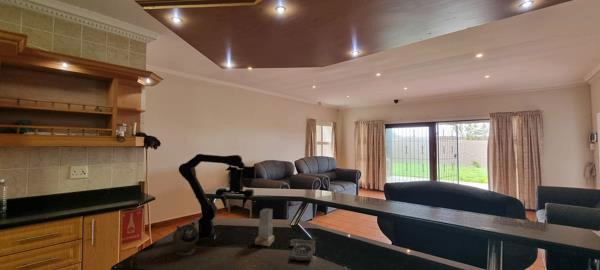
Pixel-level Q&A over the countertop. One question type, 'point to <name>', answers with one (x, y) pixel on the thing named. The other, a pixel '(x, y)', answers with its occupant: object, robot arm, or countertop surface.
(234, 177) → the robot arm
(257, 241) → the stand
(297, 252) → the graphics card
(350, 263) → the countertop surface
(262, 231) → the housing
